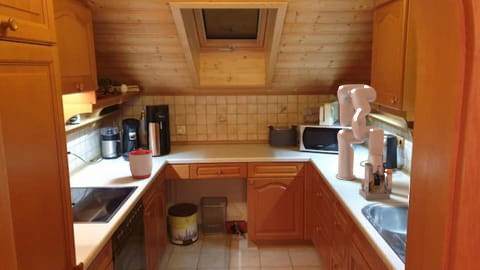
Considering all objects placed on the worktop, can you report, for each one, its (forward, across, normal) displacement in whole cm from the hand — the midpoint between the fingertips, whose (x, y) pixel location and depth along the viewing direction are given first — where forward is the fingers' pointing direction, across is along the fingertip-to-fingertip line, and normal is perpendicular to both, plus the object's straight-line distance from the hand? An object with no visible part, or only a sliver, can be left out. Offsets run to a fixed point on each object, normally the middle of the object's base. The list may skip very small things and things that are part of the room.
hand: (374, 183), depth 206 cm
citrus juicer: (+8, -54, -139) cm, 149 cm away
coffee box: (+5, 0, 0) cm, 5 cm away
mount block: (+8, -12, +4) cm, 15 cm away
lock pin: (+8, -6, +10) cm, 14 cm away
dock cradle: (+7, 0, 0) cm, 7 cm away
